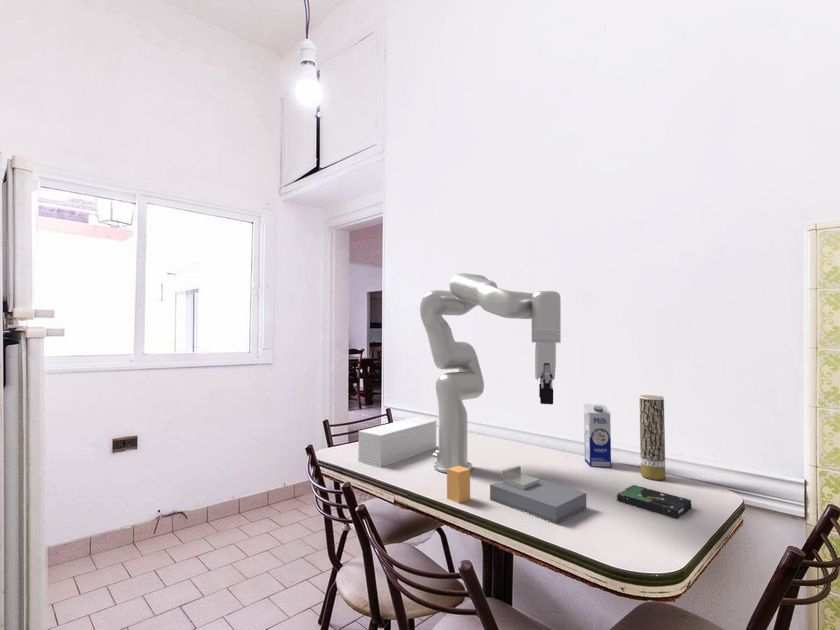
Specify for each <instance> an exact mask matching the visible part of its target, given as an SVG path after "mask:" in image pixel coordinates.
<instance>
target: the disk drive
mask: <svg viewBox="0 0 840 630" xmlns="http://www.w3.org/2000/svg"><path fill="white" fill-rule="evenodd" d="M618 501H619V502H618ZM616 502H618V503H621V502H622V503H621V504H624V503H625V504H624V505H627V504H628V505H629V506H630V507H631V506H632V507H634V506H635V508H637V509H641V510H644V509H645V511H647V512H651V513H655V514H658V515H662V516H664V517H667V518H671V519H675V520H677V519H679V518H680V517H682V516H683V515H684V514H686V513H688V512H689V511H690V510H692V499H688V498H687V497H686V498H685V497H682V496H678V495H674V494H671V493H665V492H663V491H658V490H656V489H655V490H654V489H651V488H647V487H643V486H639V485H635V484H633V485H631V486H629V487H626V488H624V489H623V490H621V492H620V491H619V492H617V495H616Z"/></svg>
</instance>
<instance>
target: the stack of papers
mask: <svg viewBox="0 0 840 630" xmlns="http://www.w3.org/2000/svg"><path fill="white" fill-rule="evenodd" d="M357 445H358V446H357V447H358V450H357V452H358V457H357V458H358V460H357V461H358V462H360V463H363V464H368V465H371V466H375V467H379V468H382V466H383V467H385V466H388V465H390V464H393V463H397V462H399V461H402V460H405V459H408V458H410V457H413V456H416V455H419V454H421V453H425V452H428V451H431V450H433V449H436V448H437V419H436V420H435V419H430V418H429V419H428V418H423V417H416V416H415V417H410V418H406V419H401V420H398V421H394V422H391V423H387V424H386V423H385V424H382V425H377V426H374V427H370V428H365V429H362V430H361V429H360V430H358V444H357Z"/></svg>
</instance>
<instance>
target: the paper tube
mask: <svg viewBox="0 0 840 630" xmlns="http://www.w3.org/2000/svg"><path fill="white" fill-rule="evenodd" d="M665 428H666V427H665V398H664V396H661V395H651V394H642V395H639V440H640V441H639V443H640V446H639V447H640V449H639V451H640V452H639V453H640V474H641V476H642V477H643V478H645V479H648V480H652V481H654V480H655V481H663V480H665V479H666V443H665V442H666V441H665V440H666V439H665V438H666V434H665V432H666V431H665V430H666V429H665Z"/></svg>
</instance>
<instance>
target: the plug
mask: <svg viewBox="0 0 840 630" xmlns="http://www.w3.org/2000/svg"><path fill="white" fill-rule="evenodd" d="M446 499H447V500H450V501H452V502H453V503H456V504H461V503H464V502H466V501H469V500H471V470H470V469H468V468H464V467H461V466H455V467H451V468H448V469H447V473H446Z"/></svg>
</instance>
